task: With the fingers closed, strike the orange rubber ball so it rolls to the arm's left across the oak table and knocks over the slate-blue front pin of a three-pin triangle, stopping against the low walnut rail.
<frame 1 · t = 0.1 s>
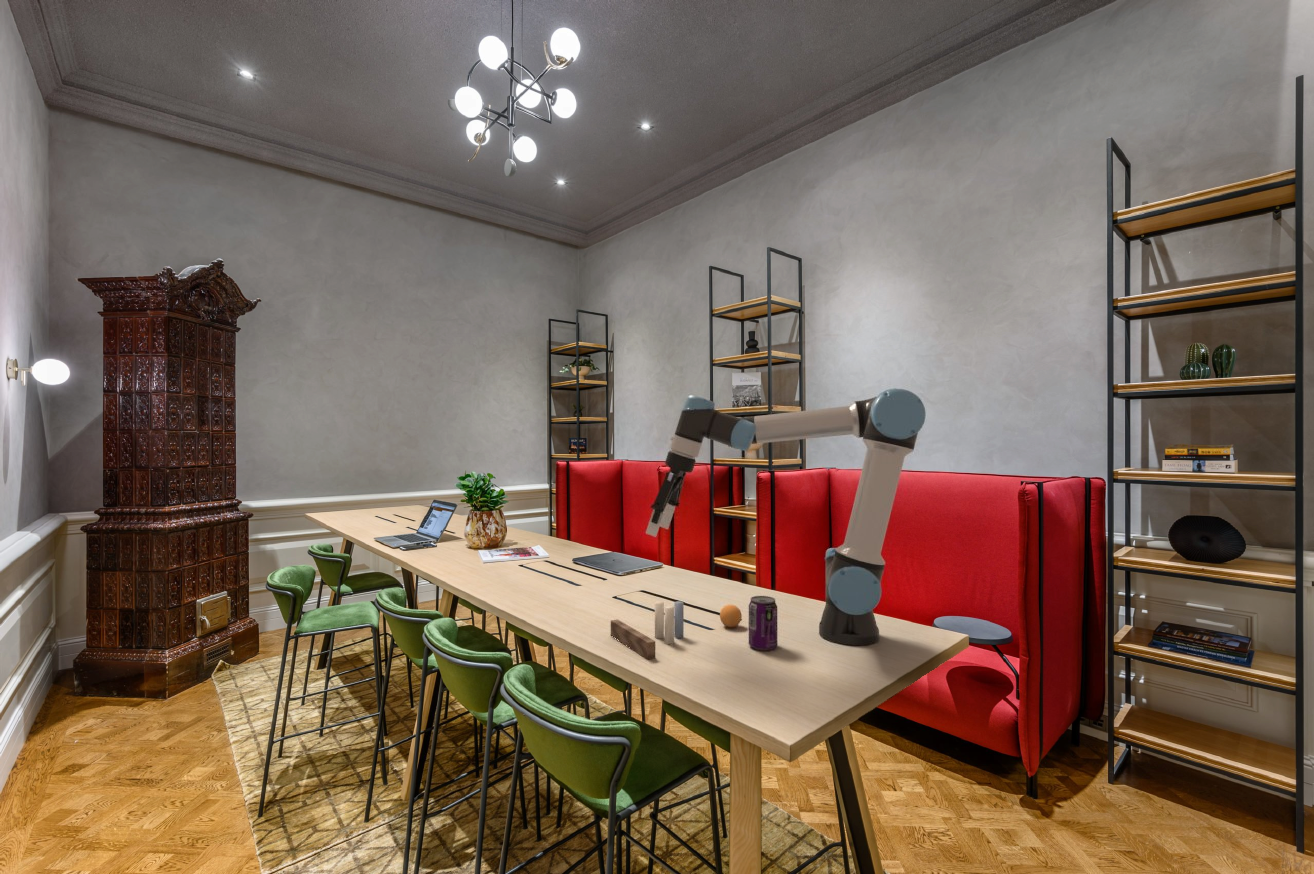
hand: (657, 531, 155), 28 cm above the table, tool tilted 20°, fingers open, 13 cm apart
ball: (730, 615, 163), on the table
rear pin right: (659, 637, 155), on the table
beverage can: (763, 647, 147), on the table
front pin: (678, 636, 155), on the table
rear pin left: (669, 642, 150), on the table
walnut rail: (631, 646, 148), on the table
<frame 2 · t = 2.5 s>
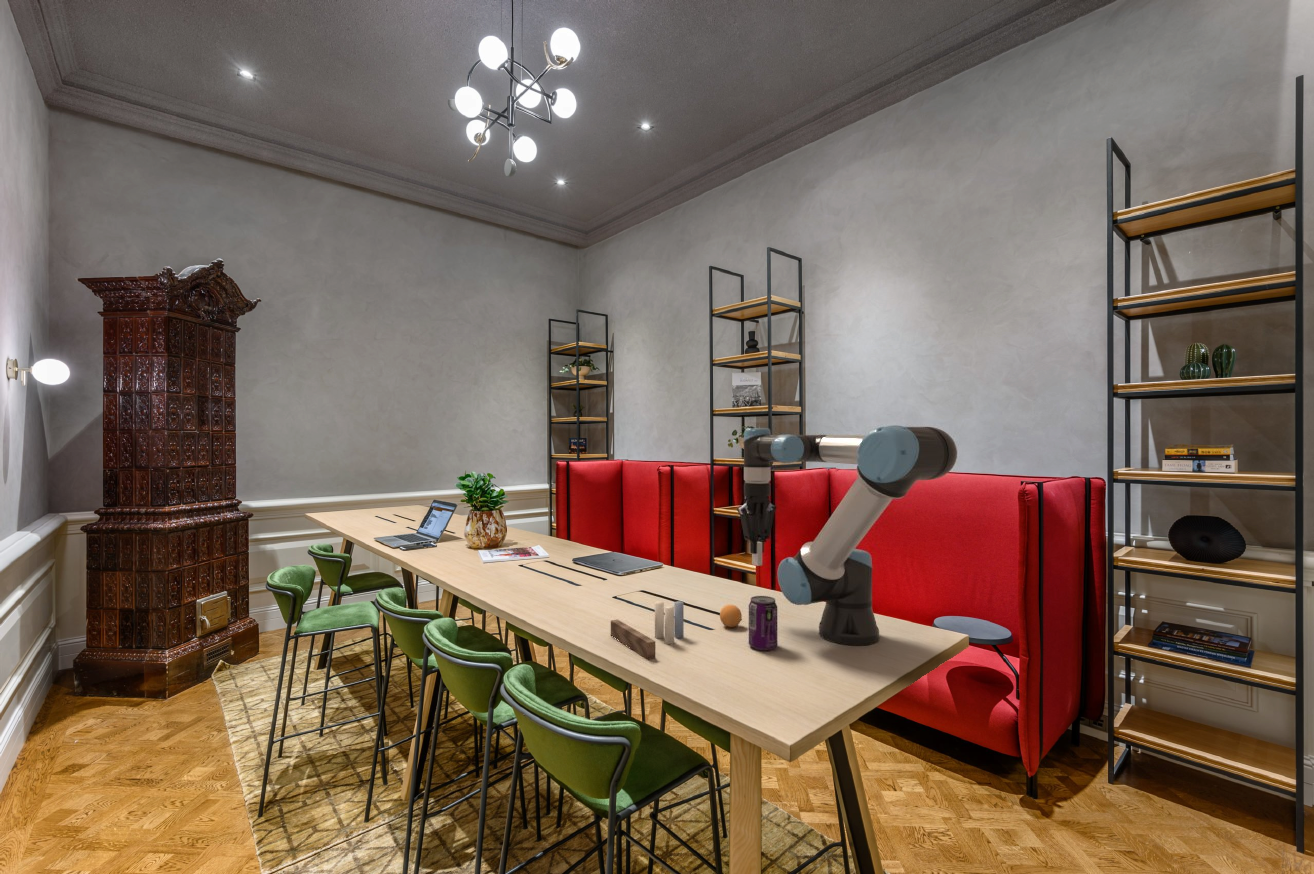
hand: (757, 564, 168), 16 cm above the table, tool pointing down, fingers closed
nothing on the table moved.
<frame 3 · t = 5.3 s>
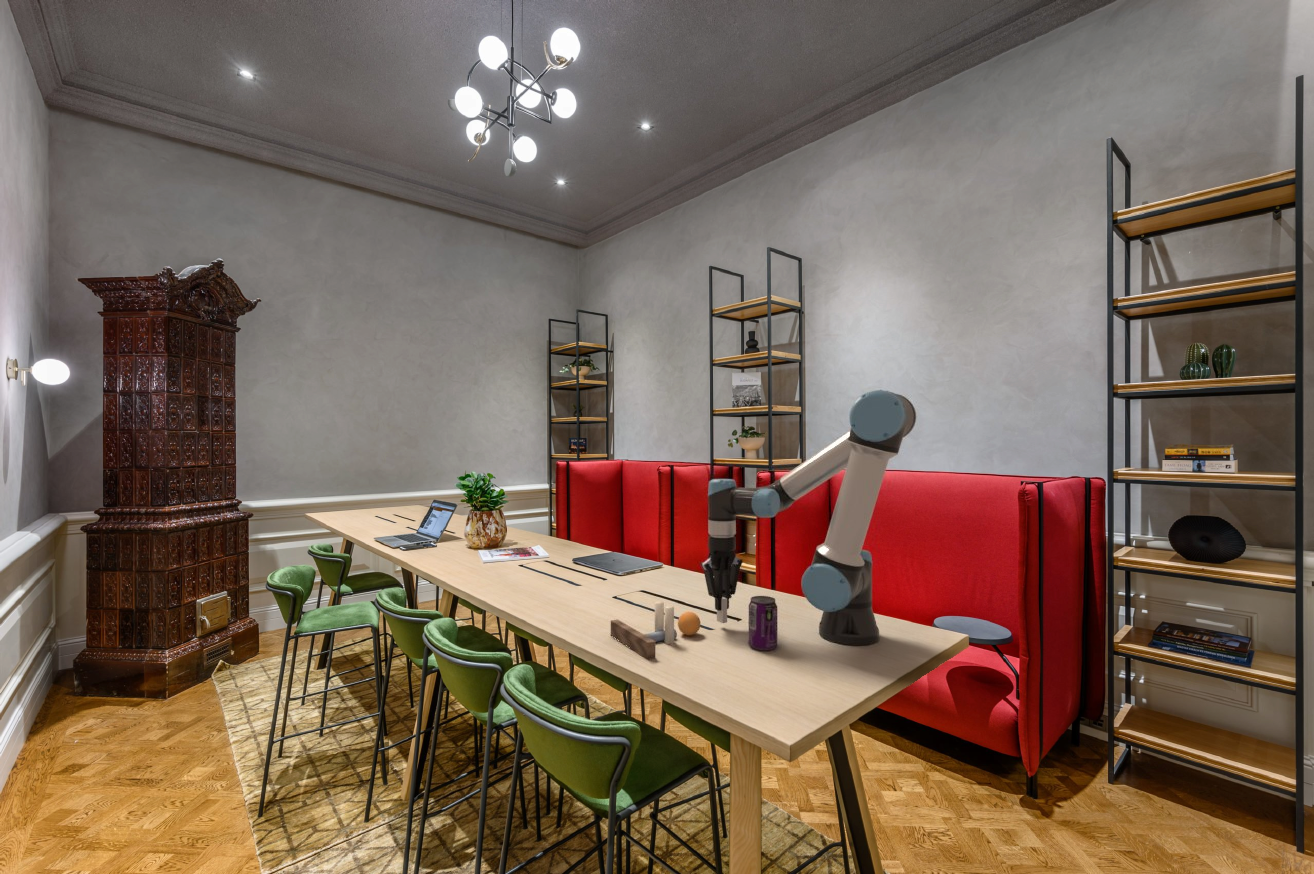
hand: (722, 621, 162), 2 cm above the table, tool pointing down, fingers closed
ball: (689, 623, 157), on the table
front pin: (674, 633, 154), point 1 cm above the table, tilted 90°
everything else where it was.
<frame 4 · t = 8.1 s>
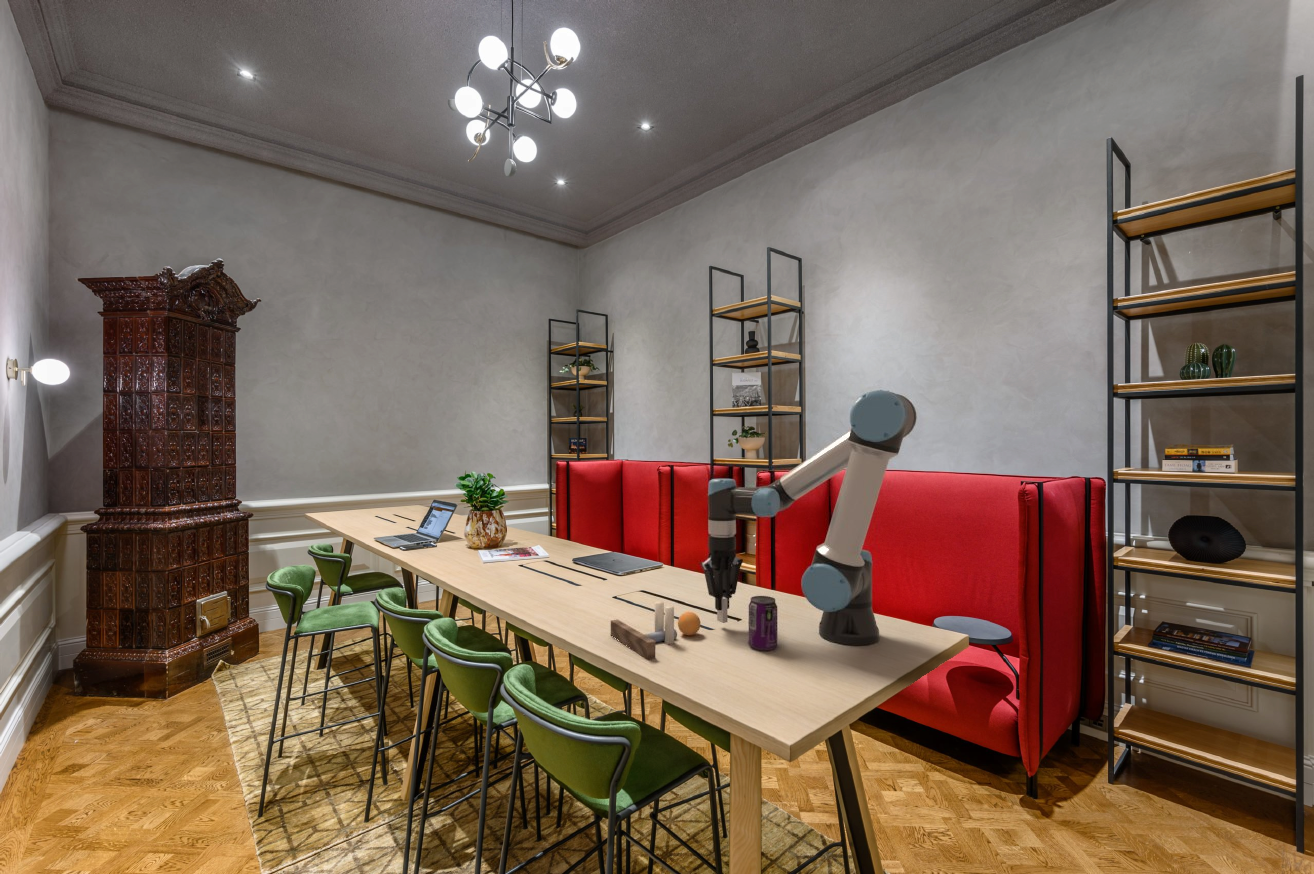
hand: (722, 621, 162), 2 cm above the table, tool pointing down, fingers closed
nothing on the table moved.
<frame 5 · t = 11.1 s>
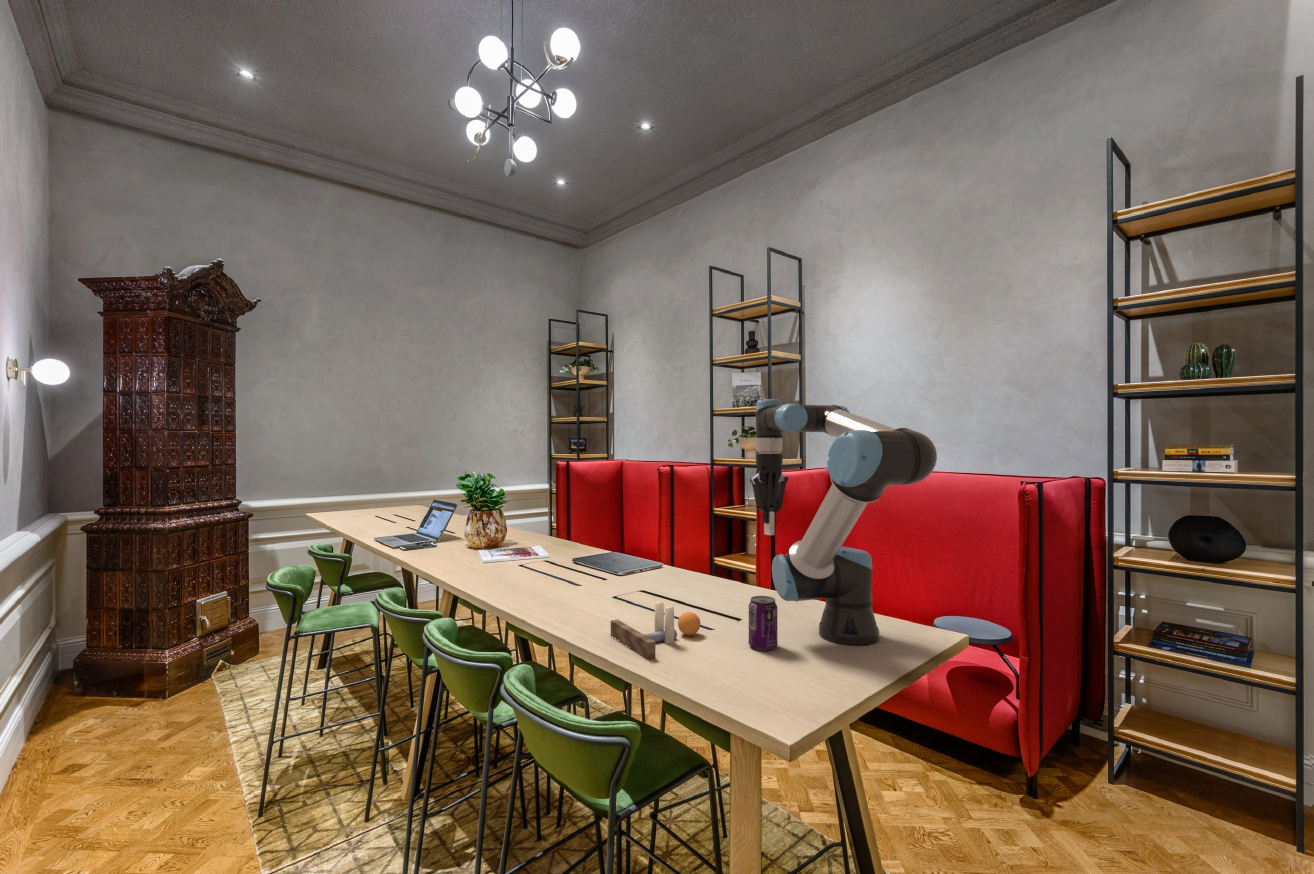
hand: (769, 534, 171), 24 cm above the table, tool pointing down, fingers closed
nothing on the table moved.
at the end: 1 of 3 knocked over (down: front pin; still standing: rear pin left, rear pin right); front pin never touched the robot; ball moved 13.8 cm from its start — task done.
